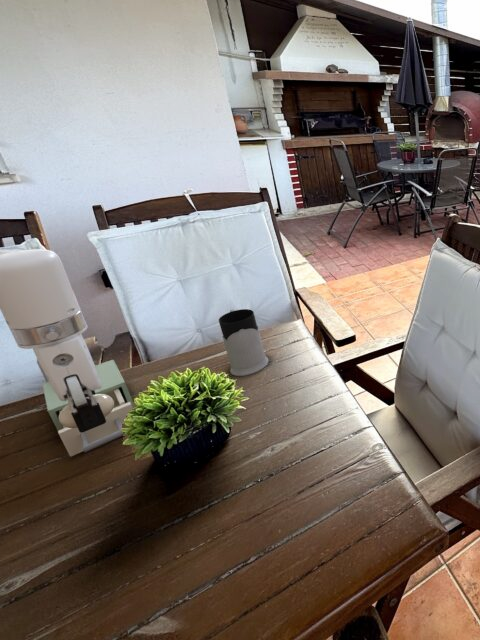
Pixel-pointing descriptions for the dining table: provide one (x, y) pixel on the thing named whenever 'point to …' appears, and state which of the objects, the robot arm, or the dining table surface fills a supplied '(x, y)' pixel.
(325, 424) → the dining table surface
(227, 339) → the glass holder
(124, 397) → the cabinet
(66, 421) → the capsule
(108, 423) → the drawer
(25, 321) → the robot arm
